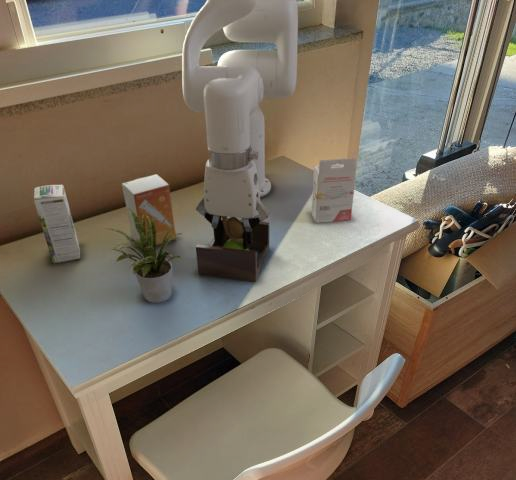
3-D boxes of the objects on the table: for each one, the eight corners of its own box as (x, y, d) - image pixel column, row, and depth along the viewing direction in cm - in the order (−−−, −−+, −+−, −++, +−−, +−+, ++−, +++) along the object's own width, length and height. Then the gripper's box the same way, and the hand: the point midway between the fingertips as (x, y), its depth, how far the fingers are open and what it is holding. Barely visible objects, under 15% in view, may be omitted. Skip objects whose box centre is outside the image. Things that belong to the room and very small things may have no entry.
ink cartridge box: (345, 210, 123) (352, 149, 113) (351, 220, 119) (358, 158, 109) (310, 213, 122) (314, 151, 112) (314, 223, 118) (319, 161, 109)
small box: (143, 250, 111) (132, 194, 102) (131, 238, 115) (120, 182, 106) (177, 239, 114) (169, 184, 105) (164, 227, 118) (156, 173, 109)
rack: (216, 243, 113) (213, 216, 108) (269, 249, 111) (269, 222, 106) (198, 274, 104) (195, 246, 100) (256, 282, 102) (255, 254, 97)
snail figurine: (234, 250, 110) (231, 198, 102) (254, 262, 107) (253, 209, 99) (214, 260, 108) (210, 207, 100) (234, 273, 104) (232, 219, 96)
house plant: (103, 288, 101) (83, 213, 90) (165, 264, 107) (153, 190, 96) (137, 325, 93) (119, 247, 81) (202, 296, 99) (193, 220, 87)
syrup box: (52, 250, 112) (31, 187, 102) (80, 245, 113) (62, 182, 103) (53, 264, 108) (31, 199, 98) (82, 259, 109) (63, 195, 99)
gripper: (280, 151, 93) (278, 239, 106) (191, 144, 96) (200, 230, 109) (271, 168, 88) (270, 259, 100) (177, 160, 91) (188, 249, 103)
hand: (234, 243), depth 104 cm, fingers closed on snail figurine, 4 cm apart
